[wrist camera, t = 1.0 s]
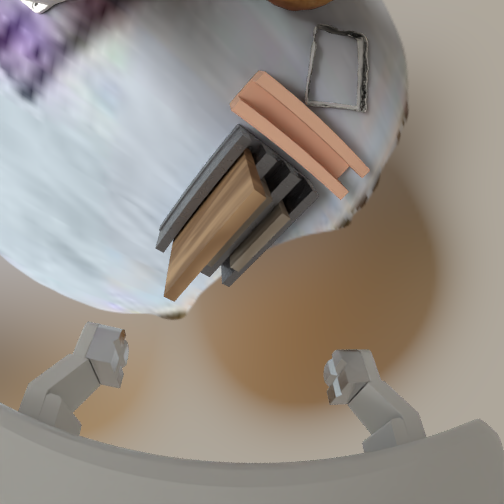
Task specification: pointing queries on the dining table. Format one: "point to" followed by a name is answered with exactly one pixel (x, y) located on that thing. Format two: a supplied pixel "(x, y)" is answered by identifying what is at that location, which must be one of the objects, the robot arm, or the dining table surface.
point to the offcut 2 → (259, 236)
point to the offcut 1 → (244, 224)
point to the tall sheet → (214, 223)
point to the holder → (296, 131)
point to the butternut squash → (299, 4)
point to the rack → (268, 165)
